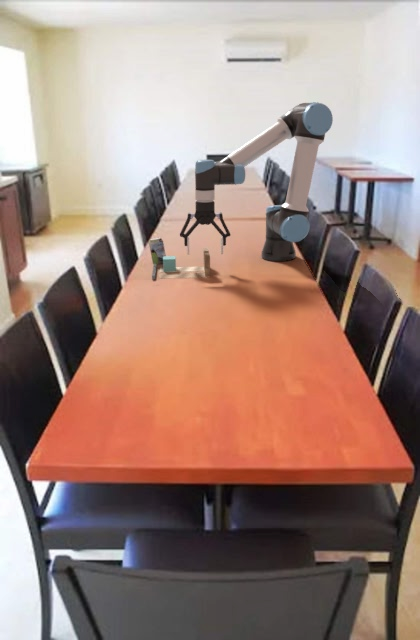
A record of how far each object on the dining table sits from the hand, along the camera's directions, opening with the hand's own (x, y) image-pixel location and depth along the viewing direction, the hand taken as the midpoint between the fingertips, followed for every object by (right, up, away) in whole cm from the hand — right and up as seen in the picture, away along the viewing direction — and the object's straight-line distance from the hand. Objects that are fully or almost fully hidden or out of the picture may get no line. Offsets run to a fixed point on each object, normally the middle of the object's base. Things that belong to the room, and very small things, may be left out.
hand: (205, 253), depth 229 cm
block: (-14, -6, +2) cm, 16 cm away
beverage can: (-20, -4, +13) cm, 24 cm away
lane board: (-8, -9, -2) cm, 12 cm away
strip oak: (-8, -11, -6) cm, 15 cm away
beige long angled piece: (-8, -7, +2) cm, 11 cm away
